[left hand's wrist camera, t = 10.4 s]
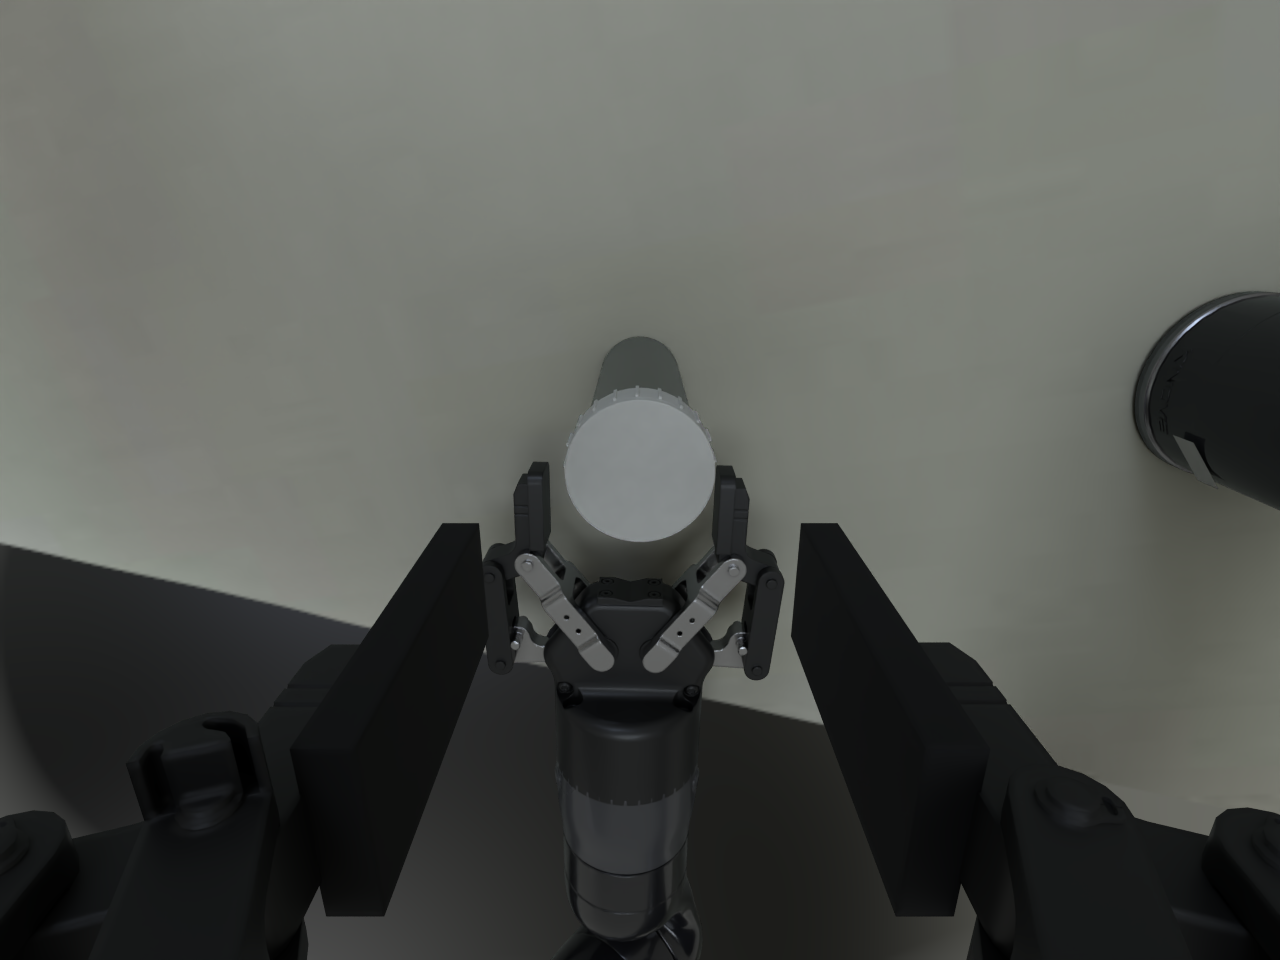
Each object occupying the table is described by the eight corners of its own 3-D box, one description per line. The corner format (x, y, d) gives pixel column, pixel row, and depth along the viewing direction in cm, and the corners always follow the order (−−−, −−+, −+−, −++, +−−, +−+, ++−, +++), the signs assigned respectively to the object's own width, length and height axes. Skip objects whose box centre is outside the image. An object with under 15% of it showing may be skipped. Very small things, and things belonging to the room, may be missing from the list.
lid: (739, 427, 22) (747, 442, 21) (668, 545, 24) (670, 568, 22) (608, 358, 21) (606, 369, 20) (543, 485, 23) (536, 504, 21)
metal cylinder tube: (692, 359, 35) (727, 443, 21) (655, 426, 36) (665, 547, 22) (623, 322, 34) (612, 383, 20) (587, 391, 35) (554, 494, 22)
